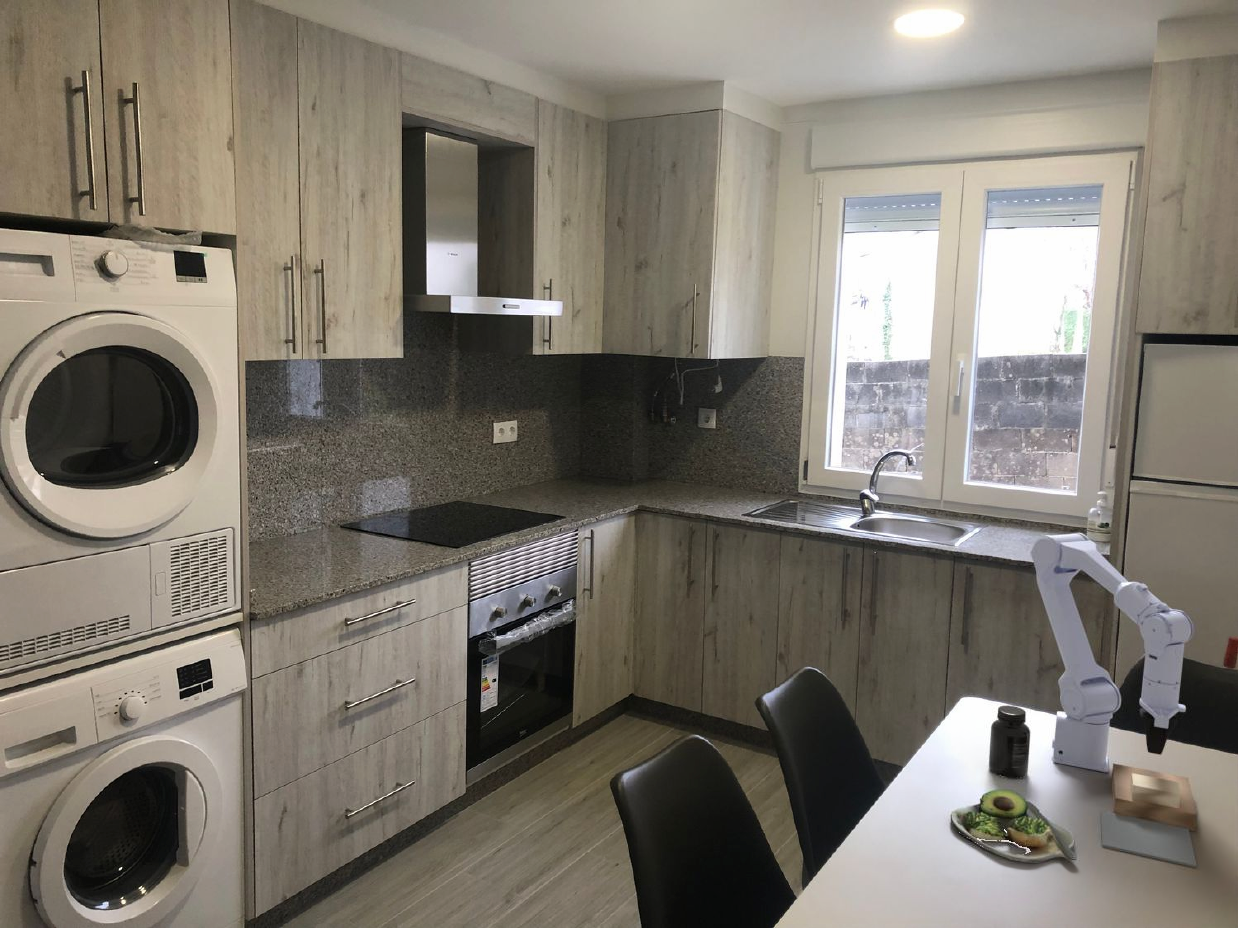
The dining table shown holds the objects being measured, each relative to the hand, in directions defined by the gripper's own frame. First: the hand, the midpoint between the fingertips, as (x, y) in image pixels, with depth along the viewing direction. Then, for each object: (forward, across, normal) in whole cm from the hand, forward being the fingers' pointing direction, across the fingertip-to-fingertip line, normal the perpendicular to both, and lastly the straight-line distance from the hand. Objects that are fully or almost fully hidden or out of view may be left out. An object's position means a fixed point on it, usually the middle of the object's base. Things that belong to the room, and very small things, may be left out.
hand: (1154, 752), depth 170 cm
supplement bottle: (+8, -2, +24) cm, 25 cm away
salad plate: (+8, -26, +22) cm, 35 cm away
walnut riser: (+8, -4, 0) cm, 9 cm away
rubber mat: (+8, -18, +2) cm, 20 cm away
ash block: (+5, -8, 0) cm, 9 cm away
